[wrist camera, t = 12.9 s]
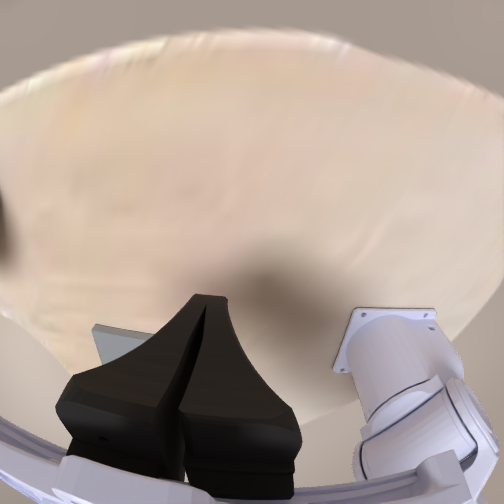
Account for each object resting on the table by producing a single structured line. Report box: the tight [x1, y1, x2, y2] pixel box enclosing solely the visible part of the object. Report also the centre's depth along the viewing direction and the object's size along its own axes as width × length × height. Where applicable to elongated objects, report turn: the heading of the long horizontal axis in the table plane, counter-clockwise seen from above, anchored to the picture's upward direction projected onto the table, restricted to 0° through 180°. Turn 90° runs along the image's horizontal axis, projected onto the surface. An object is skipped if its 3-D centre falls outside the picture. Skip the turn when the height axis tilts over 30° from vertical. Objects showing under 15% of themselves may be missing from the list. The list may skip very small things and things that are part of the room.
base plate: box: [92, 324, 154, 365], centre depth 28 cm, size 14×14×1 cm
